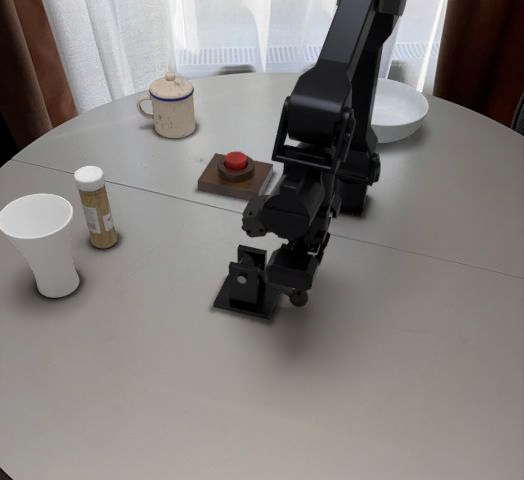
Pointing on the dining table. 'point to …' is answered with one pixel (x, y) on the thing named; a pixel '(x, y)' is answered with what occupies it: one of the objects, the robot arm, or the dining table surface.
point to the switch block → (235, 178)
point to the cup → (43, 240)
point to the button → (235, 161)
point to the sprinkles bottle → (96, 206)
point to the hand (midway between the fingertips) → (300, 281)
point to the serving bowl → (397, 110)
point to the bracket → (247, 287)
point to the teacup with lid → (171, 106)
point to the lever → (295, 295)
